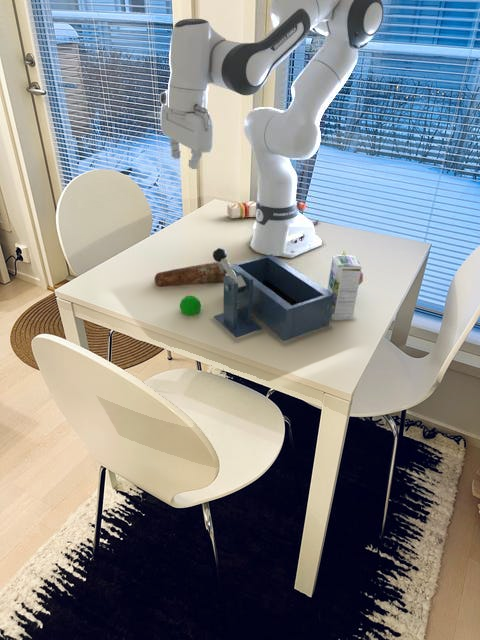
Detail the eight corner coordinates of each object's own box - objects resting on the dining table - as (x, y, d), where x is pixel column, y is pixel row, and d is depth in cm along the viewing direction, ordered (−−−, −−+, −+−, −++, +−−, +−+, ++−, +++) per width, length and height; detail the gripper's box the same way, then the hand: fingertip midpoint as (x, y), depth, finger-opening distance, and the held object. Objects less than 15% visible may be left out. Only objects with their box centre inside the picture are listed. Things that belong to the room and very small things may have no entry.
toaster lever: (209, 256, 116) (211, 246, 114) (221, 253, 118) (224, 243, 115) (233, 295, 111) (236, 286, 109) (245, 292, 113) (249, 283, 110)
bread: (228, 286, 133) (228, 267, 130) (155, 291, 130) (154, 272, 127) (224, 274, 138) (224, 256, 135) (154, 280, 135) (152, 261, 132)
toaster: (269, 284, 134) (271, 254, 129) (329, 328, 117) (333, 294, 113) (228, 297, 128) (228, 265, 123) (284, 344, 111) (287, 310, 107)
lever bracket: (213, 320, 119) (213, 272, 112) (238, 312, 122) (239, 264, 115) (236, 341, 112) (237, 291, 105) (261, 332, 115) (264, 283, 108)
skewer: (231, 221, 171) (232, 207, 168) (226, 215, 176) (226, 201, 173) (288, 215, 177) (289, 201, 174) (280, 209, 182) (281, 195, 179)
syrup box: (323, 308, 125) (330, 255, 117) (347, 307, 125) (355, 254, 117) (329, 321, 120) (336, 266, 112) (353, 320, 120) (362, 265, 113)
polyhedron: (193, 306, 124) (192, 289, 121) (205, 315, 121) (204, 297, 118) (176, 313, 121) (175, 296, 119) (188, 322, 118) (187, 304, 116)
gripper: (222, 109, 108) (216, 174, 115) (180, 94, 123) (177, 152, 130) (196, 109, 105) (192, 175, 112) (156, 93, 120) (155, 153, 127)
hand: (184, 163), depth 121 cm, fingers open, 8 cm apart
